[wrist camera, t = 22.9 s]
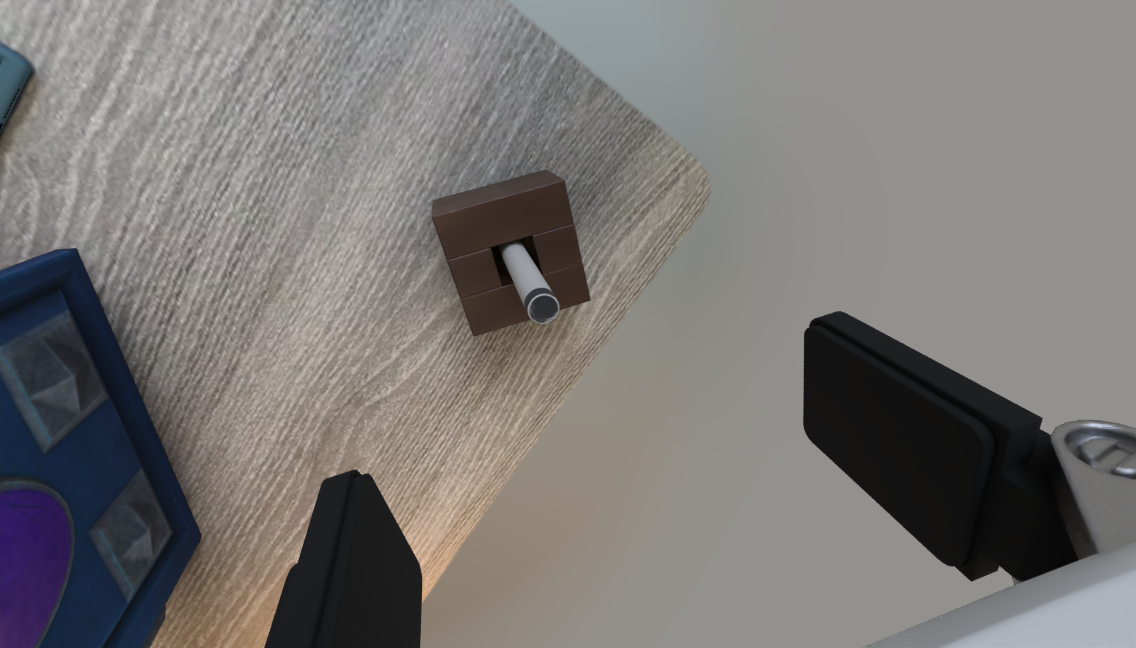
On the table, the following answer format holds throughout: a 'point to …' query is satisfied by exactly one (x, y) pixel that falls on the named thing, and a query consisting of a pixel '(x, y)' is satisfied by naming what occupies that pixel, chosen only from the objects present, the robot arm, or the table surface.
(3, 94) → the smartphone
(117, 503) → the book
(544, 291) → the stylus
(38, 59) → the table surface
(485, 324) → the pen stand
